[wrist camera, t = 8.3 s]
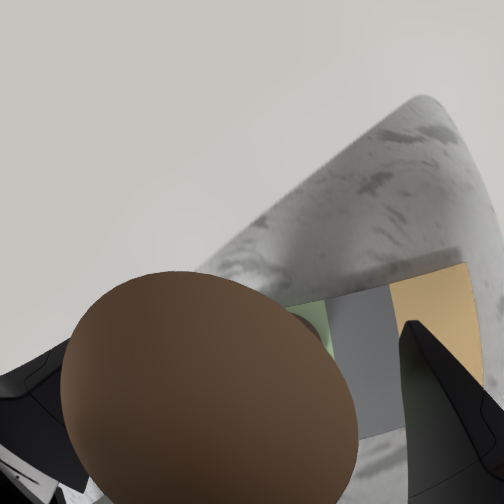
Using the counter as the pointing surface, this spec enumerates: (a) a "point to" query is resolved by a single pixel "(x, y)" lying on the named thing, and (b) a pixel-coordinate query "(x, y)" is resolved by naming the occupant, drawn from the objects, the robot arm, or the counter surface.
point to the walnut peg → (205, 397)
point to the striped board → (394, 337)
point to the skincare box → (103, 500)
